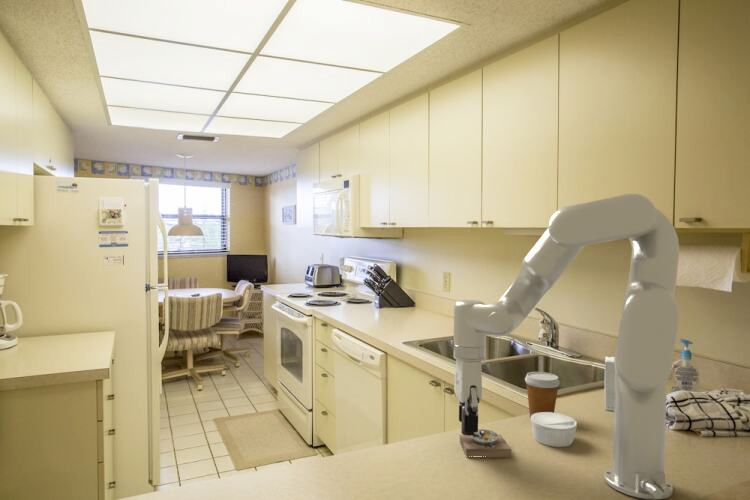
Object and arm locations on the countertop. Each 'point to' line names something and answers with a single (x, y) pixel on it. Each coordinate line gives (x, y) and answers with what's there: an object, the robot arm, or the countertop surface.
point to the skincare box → (609, 383)
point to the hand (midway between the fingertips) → (468, 425)
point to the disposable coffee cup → (541, 391)
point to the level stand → (485, 447)
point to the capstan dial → (479, 433)
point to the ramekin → (553, 429)
